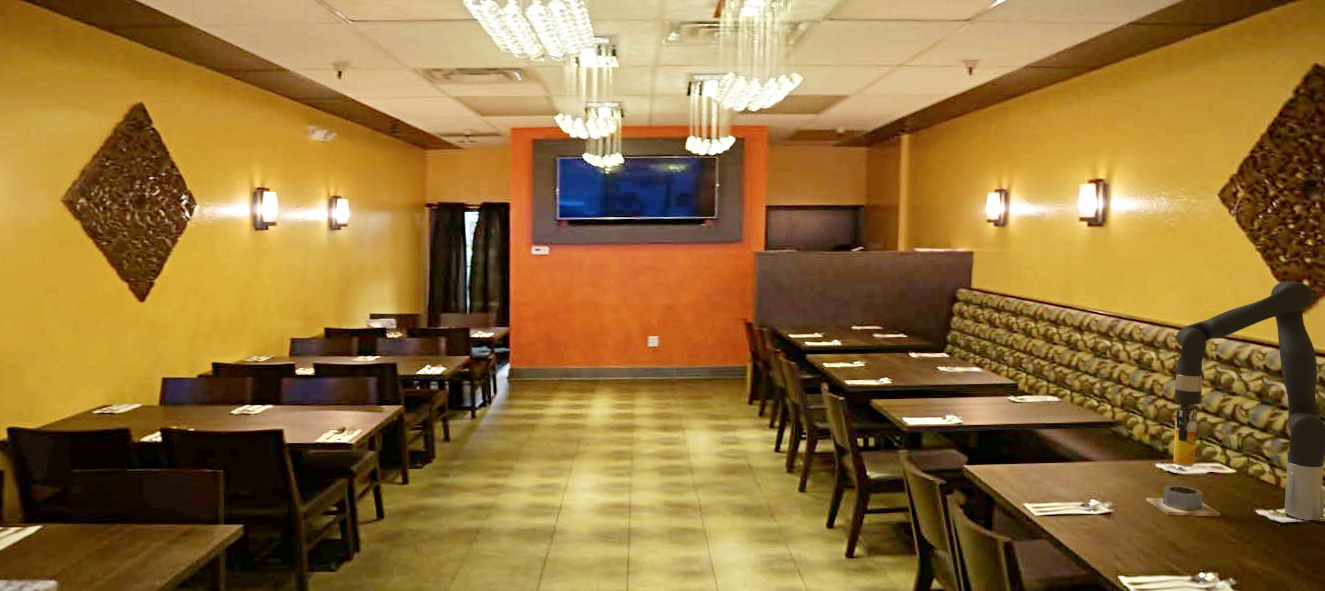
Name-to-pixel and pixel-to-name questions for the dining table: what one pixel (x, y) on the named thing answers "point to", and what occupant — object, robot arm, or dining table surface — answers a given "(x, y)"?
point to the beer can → (1185, 446)
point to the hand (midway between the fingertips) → (1185, 438)
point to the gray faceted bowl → (1182, 498)
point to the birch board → (1172, 511)
